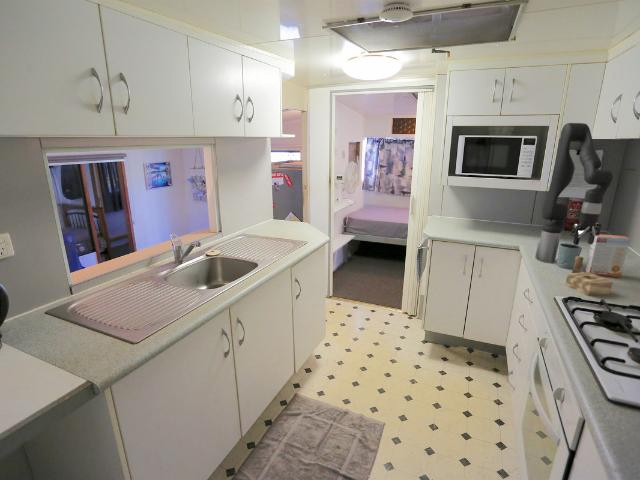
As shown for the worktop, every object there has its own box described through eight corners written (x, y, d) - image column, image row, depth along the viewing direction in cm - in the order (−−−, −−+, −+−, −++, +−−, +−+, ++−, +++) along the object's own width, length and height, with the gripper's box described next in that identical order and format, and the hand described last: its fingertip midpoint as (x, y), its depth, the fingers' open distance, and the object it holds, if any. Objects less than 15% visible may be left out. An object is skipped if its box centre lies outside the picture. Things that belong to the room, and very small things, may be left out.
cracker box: (615, 274, 188) (625, 235, 182) (620, 278, 183) (631, 238, 177) (583, 270, 192) (593, 232, 186) (588, 274, 187) (597, 235, 181)
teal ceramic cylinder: (552, 266, 198) (556, 245, 195) (558, 262, 205) (563, 242, 201) (573, 271, 191) (578, 249, 188) (579, 267, 197) (584, 246, 194)
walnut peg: (569, 277, 183) (574, 256, 180) (574, 276, 183) (579, 256, 180) (575, 279, 180) (579, 258, 177) (580, 279, 180) (585, 258, 177)
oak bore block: (565, 285, 172) (567, 273, 171) (585, 283, 175) (588, 272, 173) (587, 295, 161) (591, 283, 159) (609, 293, 164) (612, 281, 162)
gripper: (595, 209, 177) (587, 241, 182) (571, 210, 174) (564, 242, 179) (610, 213, 170) (601, 245, 175) (585, 213, 167) (577, 247, 172)
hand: (582, 244), depth 177 cm, fingers open, 8 cm apart
